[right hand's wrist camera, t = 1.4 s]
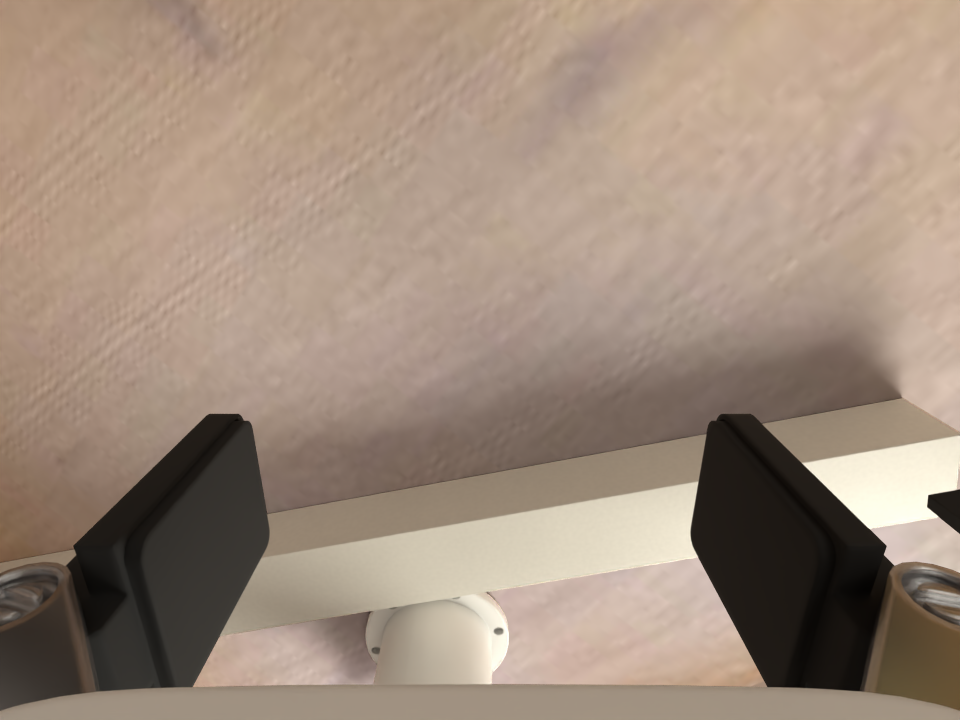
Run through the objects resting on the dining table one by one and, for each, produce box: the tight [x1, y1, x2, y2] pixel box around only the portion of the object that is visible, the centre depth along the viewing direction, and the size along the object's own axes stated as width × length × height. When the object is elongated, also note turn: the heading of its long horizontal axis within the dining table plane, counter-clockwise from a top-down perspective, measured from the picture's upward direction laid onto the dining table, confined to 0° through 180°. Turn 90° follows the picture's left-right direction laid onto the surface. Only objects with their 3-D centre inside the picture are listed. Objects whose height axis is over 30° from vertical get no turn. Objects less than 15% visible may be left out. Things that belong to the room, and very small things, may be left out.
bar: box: [0, 398, 960, 636], centre depth 42 cm, size 74×6×6 cm, turn 102°
